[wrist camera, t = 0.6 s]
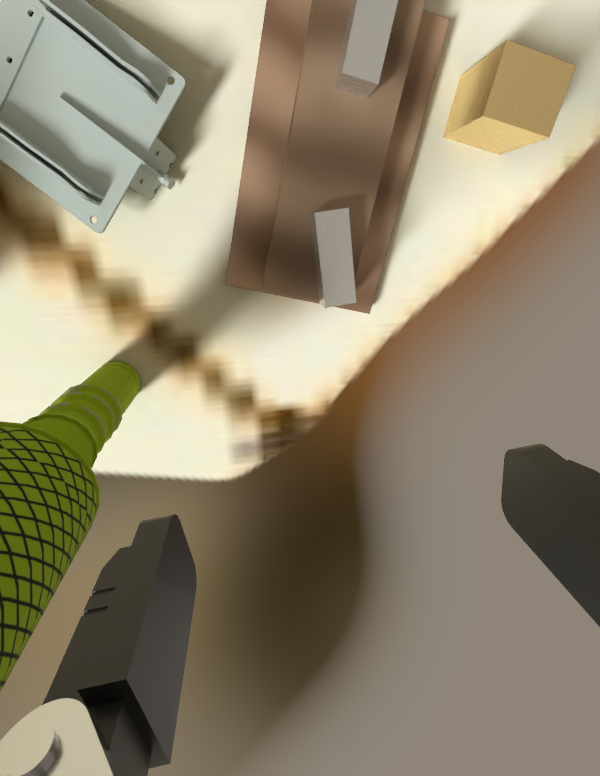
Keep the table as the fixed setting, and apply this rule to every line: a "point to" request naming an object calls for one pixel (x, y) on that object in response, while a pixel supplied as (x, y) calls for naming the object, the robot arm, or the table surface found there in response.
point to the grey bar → (361, 77)
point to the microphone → (51, 496)
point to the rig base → (274, 141)
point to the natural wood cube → (508, 99)
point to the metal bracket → (82, 107)
